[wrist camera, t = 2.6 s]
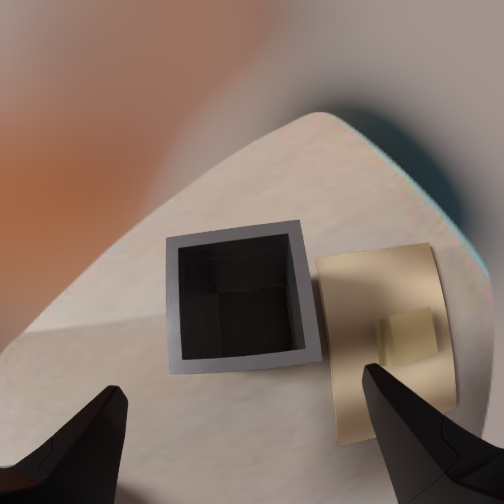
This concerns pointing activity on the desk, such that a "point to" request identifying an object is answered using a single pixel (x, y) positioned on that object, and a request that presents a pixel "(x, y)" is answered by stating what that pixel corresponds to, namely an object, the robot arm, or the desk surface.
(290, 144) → the desk surface
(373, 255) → the board
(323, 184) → the desk surface
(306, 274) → the grey square storage bin
